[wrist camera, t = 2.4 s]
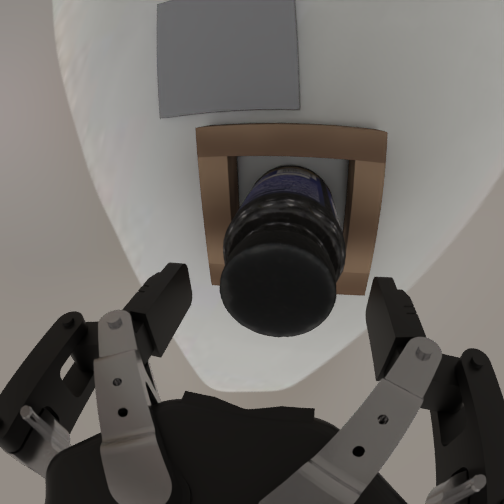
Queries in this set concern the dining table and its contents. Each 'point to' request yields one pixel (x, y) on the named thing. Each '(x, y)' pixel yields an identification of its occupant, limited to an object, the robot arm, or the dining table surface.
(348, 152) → the walnut holder
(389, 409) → the robot arm
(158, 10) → the grey pad
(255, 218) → the pill bottle
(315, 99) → the dining table surface
